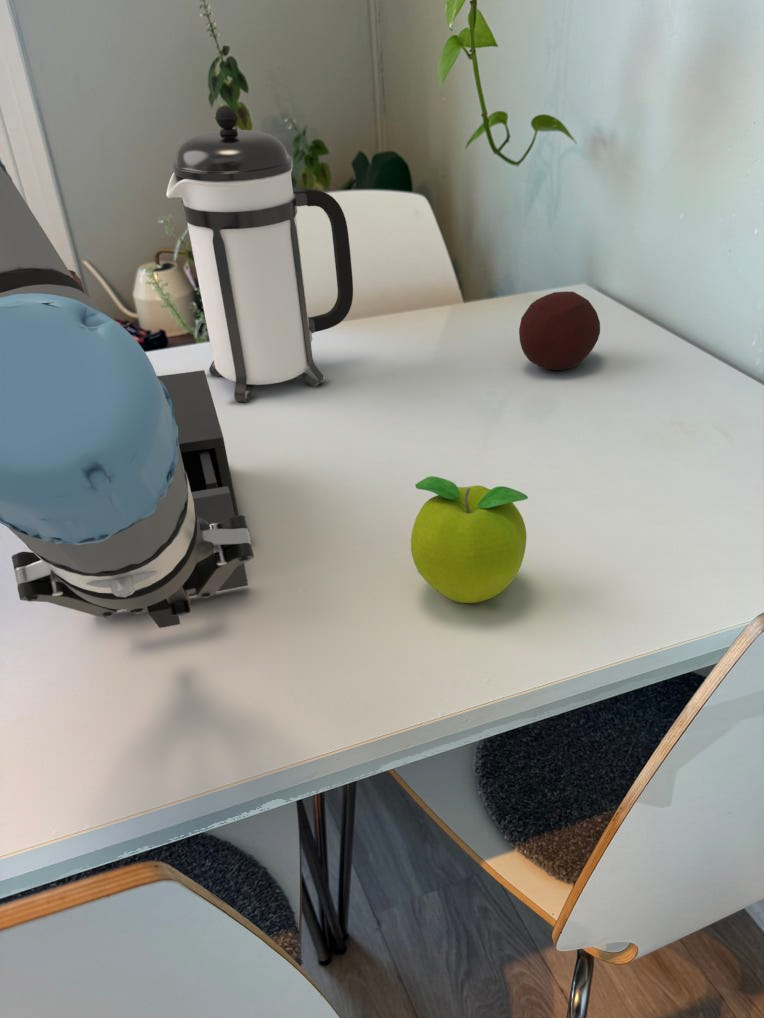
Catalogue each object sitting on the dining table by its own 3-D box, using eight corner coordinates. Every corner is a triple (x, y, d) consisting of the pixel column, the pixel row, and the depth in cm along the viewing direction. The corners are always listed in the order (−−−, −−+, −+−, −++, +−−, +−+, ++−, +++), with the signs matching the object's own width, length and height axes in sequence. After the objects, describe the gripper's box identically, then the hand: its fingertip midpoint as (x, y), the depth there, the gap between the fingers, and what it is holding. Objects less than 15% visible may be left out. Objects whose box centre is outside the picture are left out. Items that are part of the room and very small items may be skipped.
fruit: (434, 555, 83) (430, 454, 77) (535, 571, 81) (538, 469, 75) (398, 613, 76) (390, 508, 70) (507, 633, 74) (508, 525, 68)
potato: (502, 368, 118) (502, 295, 112) (567, 345, 124) (571, 274, 118) (550, 388, 113) (553, 312, 107) (616, 363, 119) (622, 290, 113)
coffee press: (300, 412, 108) (261, 121, 89) (182, 395, 112) (121, 113, 93) (362, 359, 120) (339, 95, 102) (254, 346, 125) (213, 90, 106)
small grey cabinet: (244, 545, 85) (223, 437, 78) (86, 573, 81) (50, 462, 75) (224, 469, 97) (204, 369, 90) (85, 491, 93) (54, 389, 86)
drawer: (255, 614, 75) (237, 518, 69) (92, 646, 72) (59, 549, 66) (227, 504, 89) (210, 418, 83) (90, 527, 86) (62, 439, 80)
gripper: (-17, 623, 42) (81, 677, 65) (267, 570, 46) (266, 639, 68) (-46, 468, 43) (61, 575, 66) (235, 427, 46) (245, 543, 69)
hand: (166, 608), depth 67 cm, fingers closed
